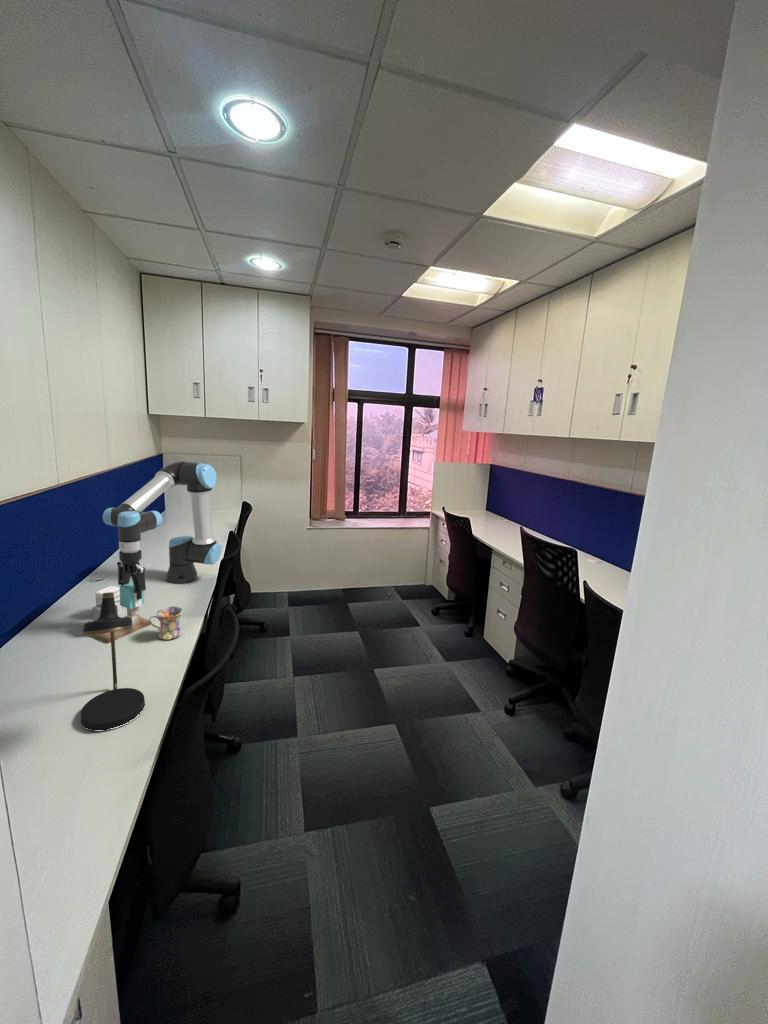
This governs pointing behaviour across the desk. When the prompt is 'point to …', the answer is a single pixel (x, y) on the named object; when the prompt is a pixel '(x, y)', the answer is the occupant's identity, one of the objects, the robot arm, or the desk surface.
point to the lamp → (117, 702)
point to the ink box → (109, 589)
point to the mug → (169, 622)
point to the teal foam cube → (128, 595)
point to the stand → (137, 624)
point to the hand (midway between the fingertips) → (132, 603)
